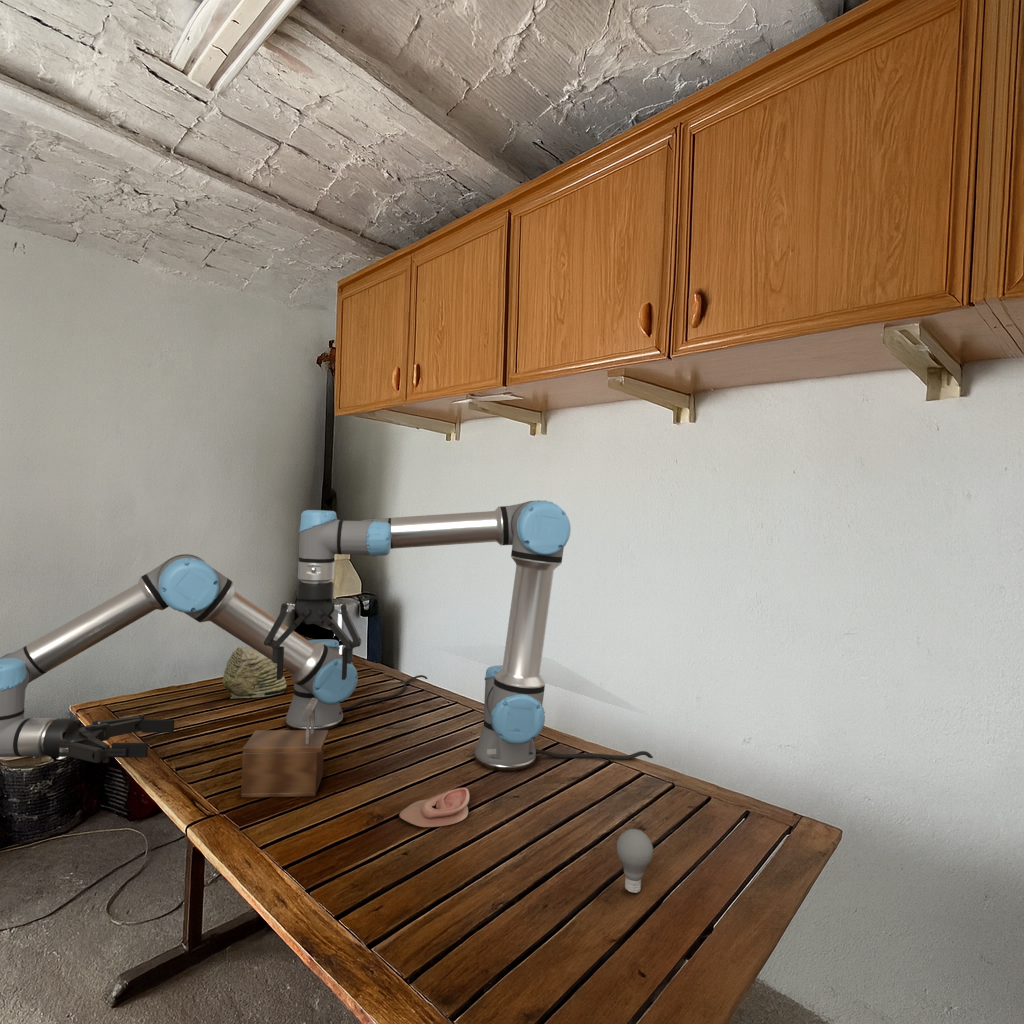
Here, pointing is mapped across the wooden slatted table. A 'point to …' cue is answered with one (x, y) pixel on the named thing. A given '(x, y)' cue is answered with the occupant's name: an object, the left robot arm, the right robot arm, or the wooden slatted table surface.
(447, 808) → the anatomical model
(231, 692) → the fossil
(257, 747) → the lid
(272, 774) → the chest
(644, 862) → the light bulb
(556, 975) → the wooden slatted table surface
